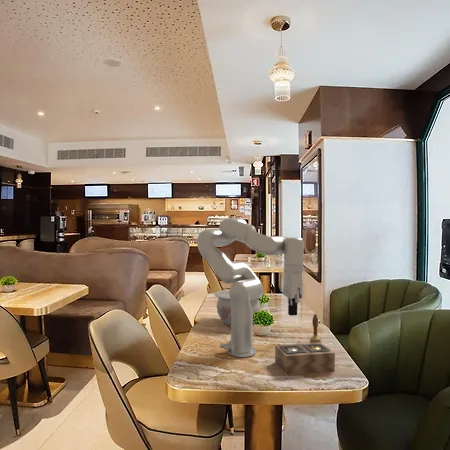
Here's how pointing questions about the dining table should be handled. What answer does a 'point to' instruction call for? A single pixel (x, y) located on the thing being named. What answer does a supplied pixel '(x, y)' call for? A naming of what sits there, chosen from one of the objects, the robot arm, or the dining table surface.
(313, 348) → the brass plunger
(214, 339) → the dining table surface
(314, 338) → the hand bell
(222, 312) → the chamber pot
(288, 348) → the steel plunger
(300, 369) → the walnut block
